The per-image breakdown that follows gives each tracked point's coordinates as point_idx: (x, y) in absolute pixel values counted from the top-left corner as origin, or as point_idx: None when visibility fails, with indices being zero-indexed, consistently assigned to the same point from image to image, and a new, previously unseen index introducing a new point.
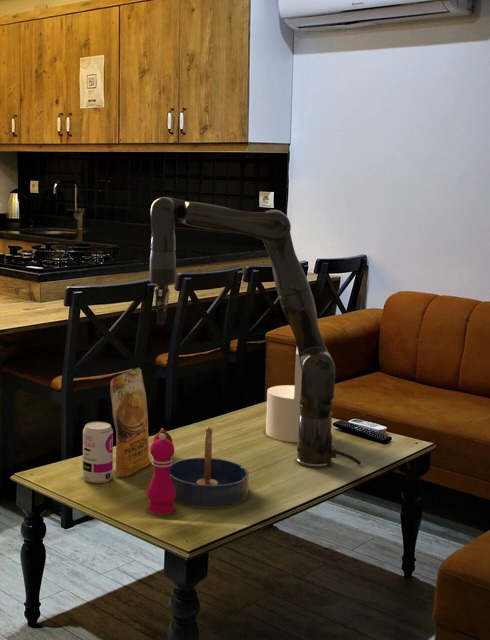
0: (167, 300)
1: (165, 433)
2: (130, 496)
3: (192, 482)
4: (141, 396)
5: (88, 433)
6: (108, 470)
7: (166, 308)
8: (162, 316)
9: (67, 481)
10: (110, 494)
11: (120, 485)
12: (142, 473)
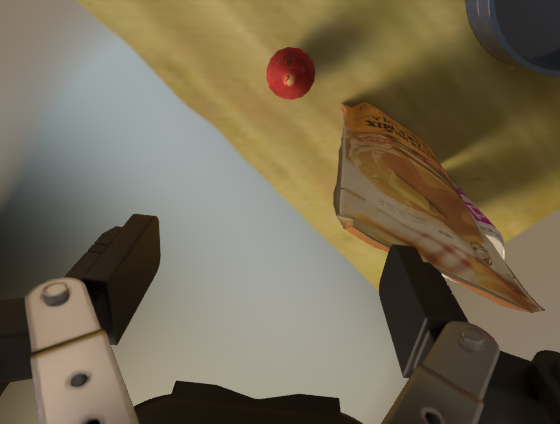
0: (109, 347)
1: (298, 70)
2: (535, 143)
3: (502, 4)
4: (380, 178)
5: None
6: (462, 192)
7: (114, 272)
8: (456, 304)
9: None
10: (515, 178)
11: (473, 161)
12: (411, 118)
